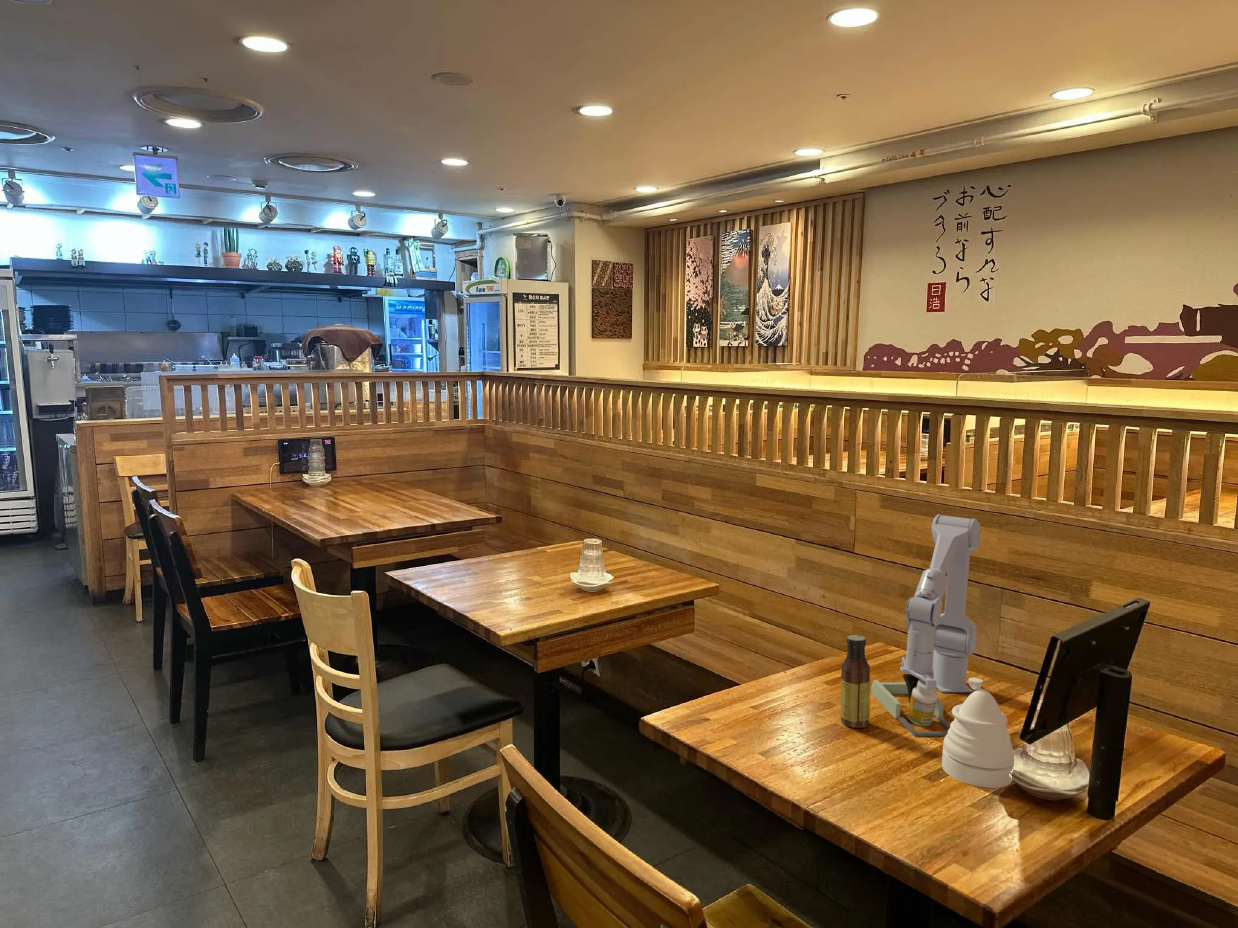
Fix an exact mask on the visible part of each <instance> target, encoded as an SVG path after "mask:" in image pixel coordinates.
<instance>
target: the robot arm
mask: <svg viewBox="0 0 1238 928" xmlns="http://www.w3.org/2000/svg"><path fill="white" fill-rule="evenodd" d="M932 520H933V521H932V523H931V535H932V540H933V543H934V544H935V546H934V549H933V554H932V558H931V561H930V566H929V568H927V569H924V571H923V572H922V574H921V577H920V580H919V582H918V584H917V587H916V590H915V593H914V596H913V597H912V596H911V597H909V599H908V600H907V603H906V608H905V619H906V624H905V625H906V628H907V629H908V630H907V641H906V642H907V643H906V653H905V656H902V657H901V666H900V668H899V669H900V671H901V672H902V673H903V675H902V678H903V680H904V683H906V686H907V689H908V694H907V696H908V703H909V704H910V699H911V695H912V691H913V689H914V688H915V687H916V686H917V683H918V680H919V679H921V680H923V681H924V682H925V683H926V686H925V687H926V688H927V689H936V690H938V691H940V692H941V693H973V692H974V689H972V688H971V687H969V686H968V685H967V673H968V660H969V656H971V655H972V654H974V653H975V650H976V647H977V641H978V637H977V636H978V635H977V625H976V623H975V622H974V621H973V620H972V619H971V618H970V617H969V616H968V615H966V606H967V605H966V604H967V594H968V593H967V592H968V583H969V572H970V571H969V569H970V560H971V559H970V558H971V554H972V552H973V551H977V550H978V549H979V546H980V540H981V539H980V538H981V524H980V522H979V521H978V519H977V518H966V517H959V516H952V515H951V516H950V515H945V514H944V515H942V514H936V515H935V517H934V518H933V519H932ZM946 573H947V574H946ZM944 594H945V601H944V602H945V603H944V612H943V613H942V608H943V601H942V600H943V598H944ZM904 673H905V674H904ZM936 685H937V688H936ZM909 704H908V705H909Z"/></svg>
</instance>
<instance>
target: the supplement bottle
mask: <svg viewBox="0 0 1238 928" xmlns="http://www.w3.org/2000/svg"><path fill="white" fill-rule="evenodd" d="M925 686H926V683H925V682H924V681H923V680H921V679H919V680H918V683H917V686H916V687H915V688H914V689H913V691H912V695H911V699H910V704H908V709H907V715H906V716H907V718H908V720H909V721H910V722H911V723H913V724H915V725H918V726H923V727H924V726H931V724H932V723H933V721H934V716H935V715H934V712H935V707H936V703H937V698H938V699H939V697H938V693H937V685H936V689H927V688H926V687H925Z"/></svg>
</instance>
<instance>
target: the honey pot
mask: <svg viewBox="0 0 1238 928" xmlns="http://www.w3.org/2000/svg"><path fill="white" fill-rule="evenodd" d="M983 682H984V681H983V680H982V679H981V678H977V677H969V678H968V685H969V686H970V687H969V688H971V689H972V690H973V692H971V693H970V694H969V695H968V696H967V698H966V699H965V700H964V701H963V703H960V704H956V705H955V706H953V707H952V710H951V713H952V716H953V717H954V719H953V721H952V722H951V723H950V728H949V730H948V729H947V731H948V734H947V735H946V736H944V738H943V745H942V755H941V756H942V757H941V768H942V769H943V772H945V773H946V774H947V775H949V776H950V777H951V778H953V779H954V780H957V781H958V782H962V783H965V784H967V785H970V786H975V787H980V788H989V789H992V788H993V789H997V788H1004V787H1006V786H1009V785H1011V783H1012V782H1011V778H1010V777H1009V772H1010V771H1012V769H1013V767H1015V751H1014V748H1013V746H1012V745H1013V743H1012V740H1011V735H1010V733H1009V732H1010V731H1008V728H1007V723H1008V718H1007V716H1006V715H1005V714H1004V713H1003V712H1002V711H1001V708H1000V707H999V704H998V703H997V701H996V699H995V697H994V696H993V695H992V694H991V692H989V691H987V690H986V689H984V688H981V687H982V686H983Z"/></svg>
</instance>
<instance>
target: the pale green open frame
mask: <svg viewBox="0 0 1238 928" xmlns="http://www.w3.org/2000/svg"><path fill="white" fill-rule="evenodd" d="M870 694H872V695H873V696H874V697H875V698H876V699H877V701H879V703H880V704H881V705H882V706H883V707H884V708H885V709H886V711H888V713H890V714H891V715H892V716H893V718H894V719H897V720H898V719H899V717H901V706H902V705H901V703H900V702H899V700H898V699H897V698H896V697H895V696H893V695H908V689H907V686H906V683H905V682H880V681H879V680H877V679H875V680H874V679H873V682H871V686H870ZM934 716H935V717H936V718H937V717H943V718H944V702H943V701H941V700H940V699H939V697H938V698H937V703H936V707H935V712H934Z"/></svg>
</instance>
